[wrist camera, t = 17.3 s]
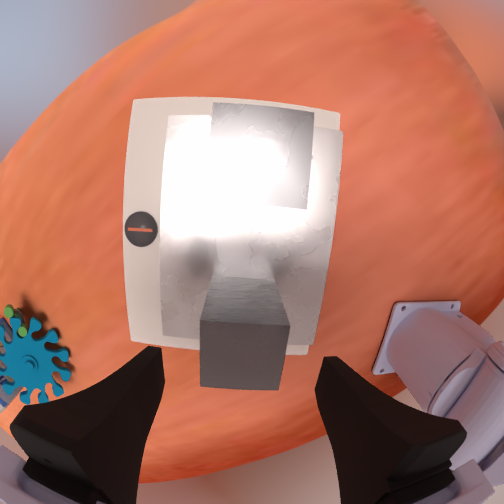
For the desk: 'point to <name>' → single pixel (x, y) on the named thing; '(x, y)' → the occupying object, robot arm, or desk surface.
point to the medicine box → (3, 399)
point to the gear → (30, 358)
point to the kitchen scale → (217, 225)
